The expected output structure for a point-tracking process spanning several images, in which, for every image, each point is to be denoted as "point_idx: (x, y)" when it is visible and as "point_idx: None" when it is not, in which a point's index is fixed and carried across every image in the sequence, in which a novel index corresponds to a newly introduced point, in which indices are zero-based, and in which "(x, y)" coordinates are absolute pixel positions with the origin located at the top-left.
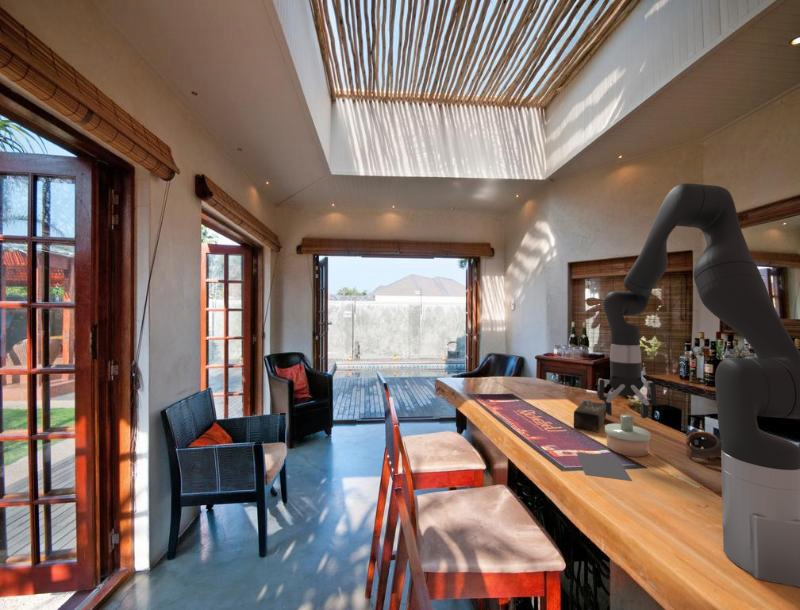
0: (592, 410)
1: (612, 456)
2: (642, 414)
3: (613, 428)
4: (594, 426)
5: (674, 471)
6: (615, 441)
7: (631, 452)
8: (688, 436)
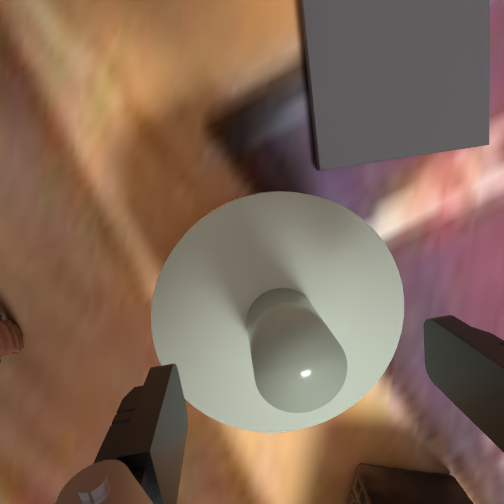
0: None
1: (338, 164)
2: (175, 400)
3: (355, 313)
4: (383, 487)
5: (95, 134)
6: None
7: None
8: None
